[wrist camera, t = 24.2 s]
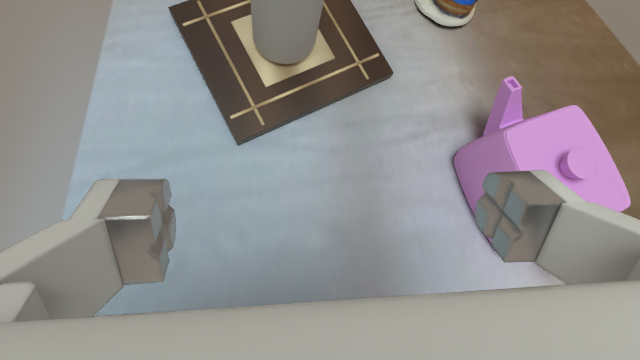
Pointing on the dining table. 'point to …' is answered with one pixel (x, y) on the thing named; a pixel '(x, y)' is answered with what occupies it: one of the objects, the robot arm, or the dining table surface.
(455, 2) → the dessert
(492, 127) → the teapot
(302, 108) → the board
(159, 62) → the dining table surface
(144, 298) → the dining table surface
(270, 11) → the beverage can
